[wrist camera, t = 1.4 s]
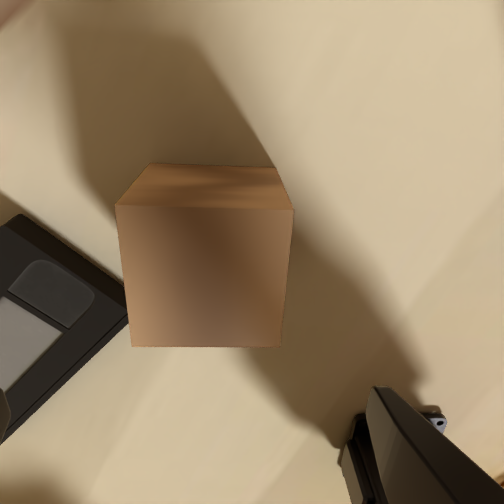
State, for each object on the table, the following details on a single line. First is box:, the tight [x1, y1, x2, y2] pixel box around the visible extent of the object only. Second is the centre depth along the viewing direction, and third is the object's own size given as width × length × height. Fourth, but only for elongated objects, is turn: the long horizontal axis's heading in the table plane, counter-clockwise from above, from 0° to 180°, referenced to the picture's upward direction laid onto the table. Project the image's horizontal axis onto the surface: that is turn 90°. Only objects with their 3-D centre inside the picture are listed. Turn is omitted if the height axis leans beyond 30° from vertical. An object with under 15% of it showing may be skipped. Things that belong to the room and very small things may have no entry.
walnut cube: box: [114, 163, 294, 347], centre depth 17 cm, size 6×6×6 cm
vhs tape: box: [0, 214, 129, 445], centre depth 21 cm, size 8×14×2 cm, turn 135°
